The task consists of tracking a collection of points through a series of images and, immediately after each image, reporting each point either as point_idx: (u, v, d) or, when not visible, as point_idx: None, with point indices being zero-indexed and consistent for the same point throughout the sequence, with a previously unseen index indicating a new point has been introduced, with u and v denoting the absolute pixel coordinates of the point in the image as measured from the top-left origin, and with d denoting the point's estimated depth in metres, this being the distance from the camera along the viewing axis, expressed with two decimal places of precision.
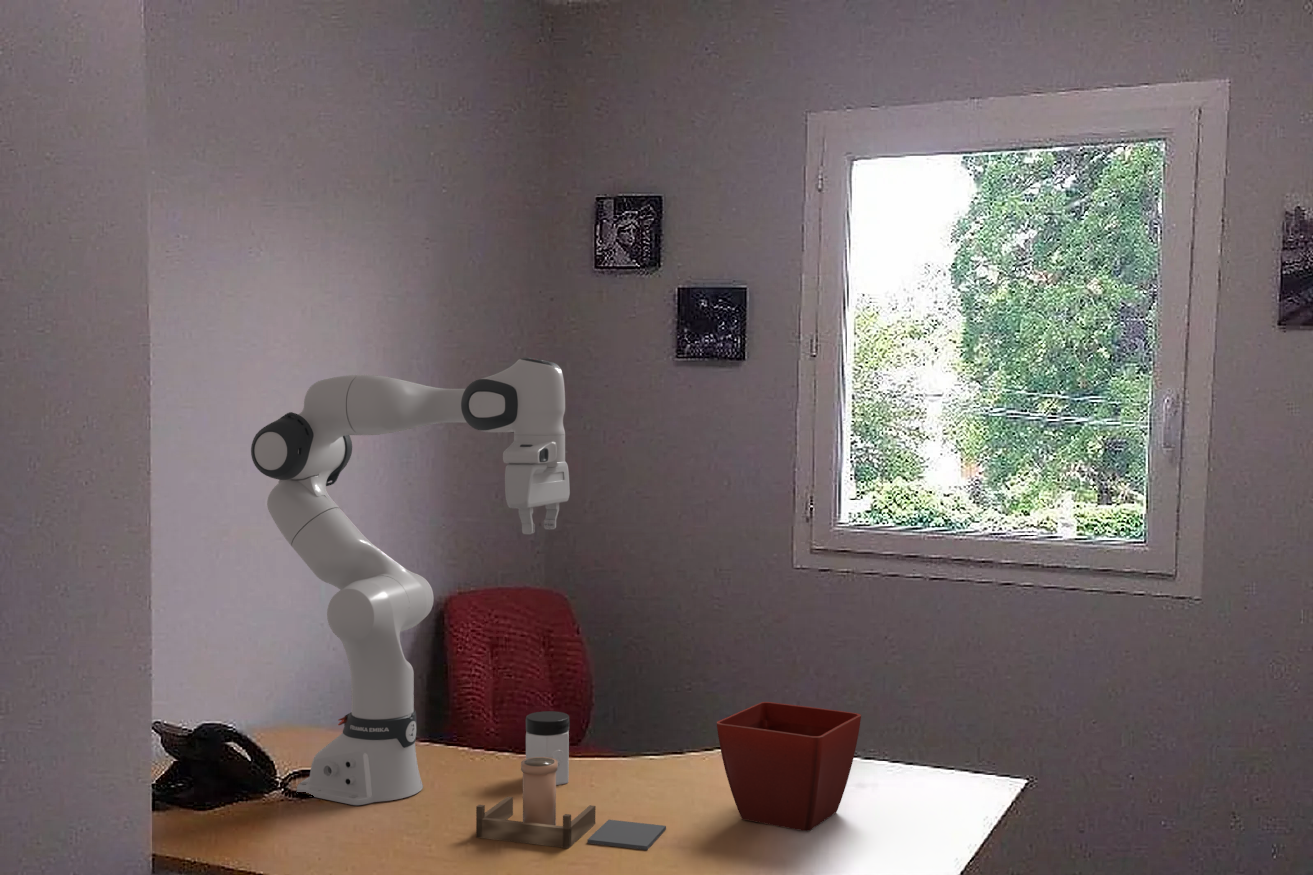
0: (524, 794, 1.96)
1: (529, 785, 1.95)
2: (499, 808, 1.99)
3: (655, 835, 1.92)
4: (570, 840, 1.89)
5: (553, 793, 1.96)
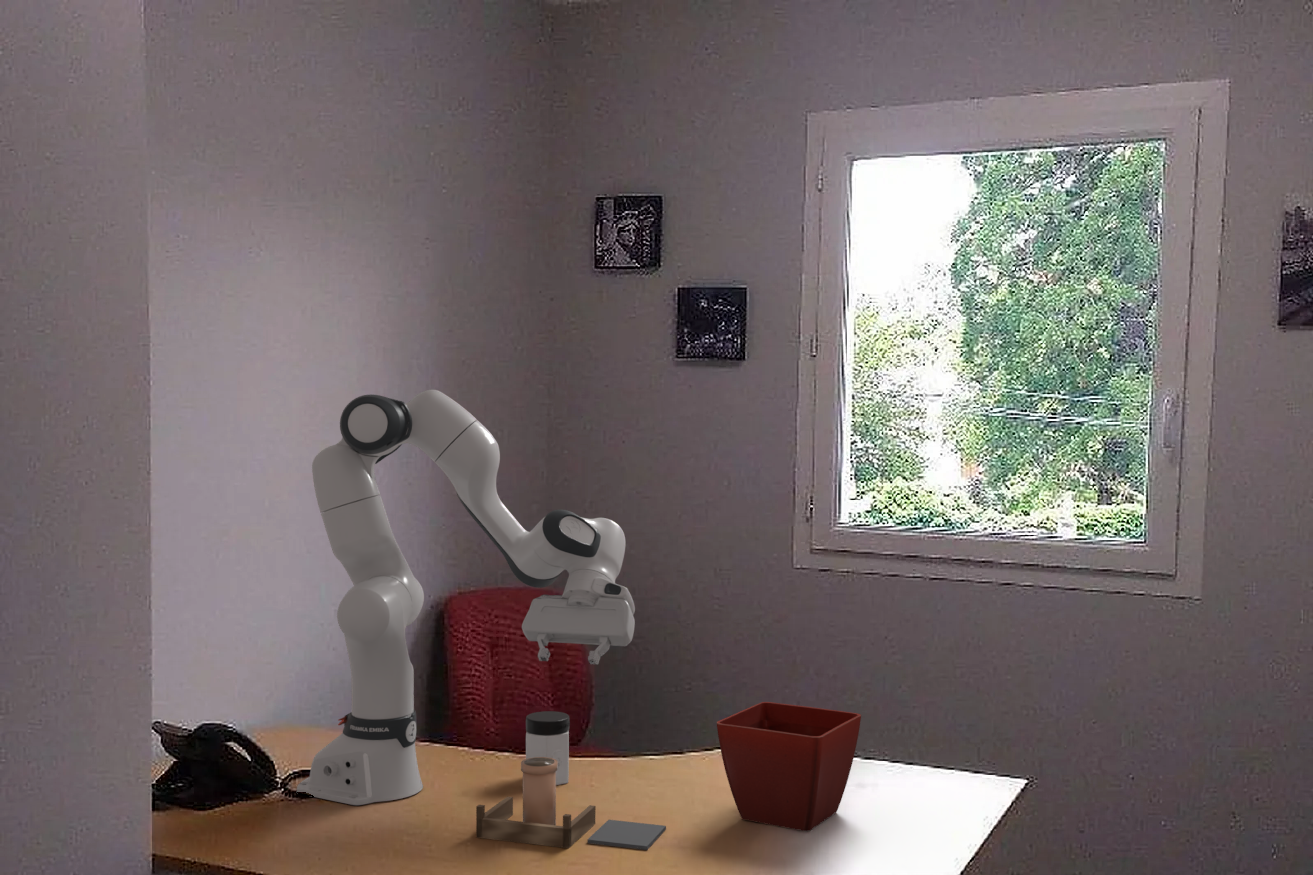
0: (524, 794, 1.96)
1: (529, 785, 1.95)
2: (499, 808, 1.99)
3: (655, 835, 1.92)
4: (570, 840, 1.89)
5: (553, 793, 1.96)
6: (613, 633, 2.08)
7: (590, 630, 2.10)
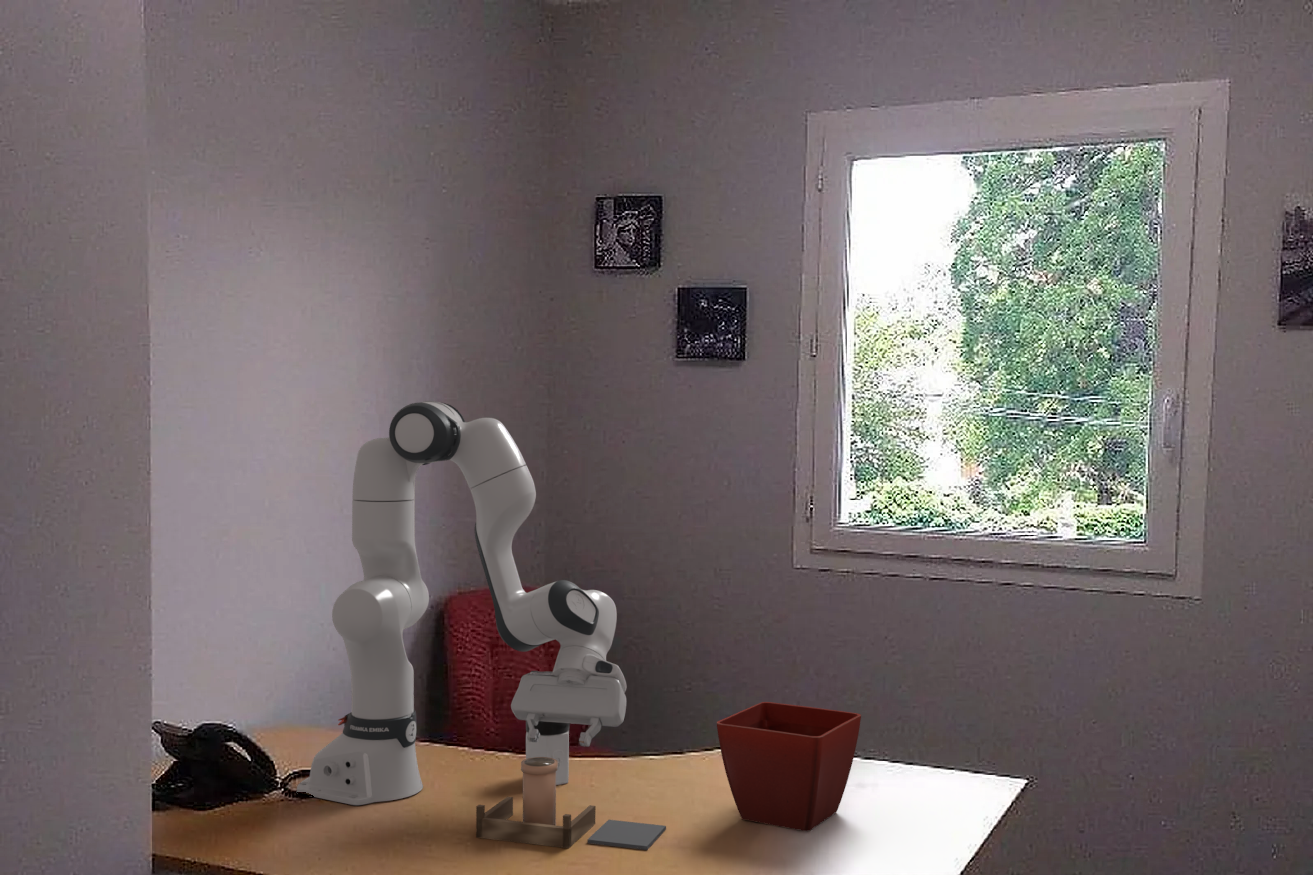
0: (524, 794, 1.96)
1: (529, 785, 1.95)
2: (499, 808, 1.99)
3: (655, 835, 1.92)
4: (570, 840, 1.89)
5: (553, 793, 1.96)
6: (604, 714, 2.04)
7: (581, 710, 2.05)
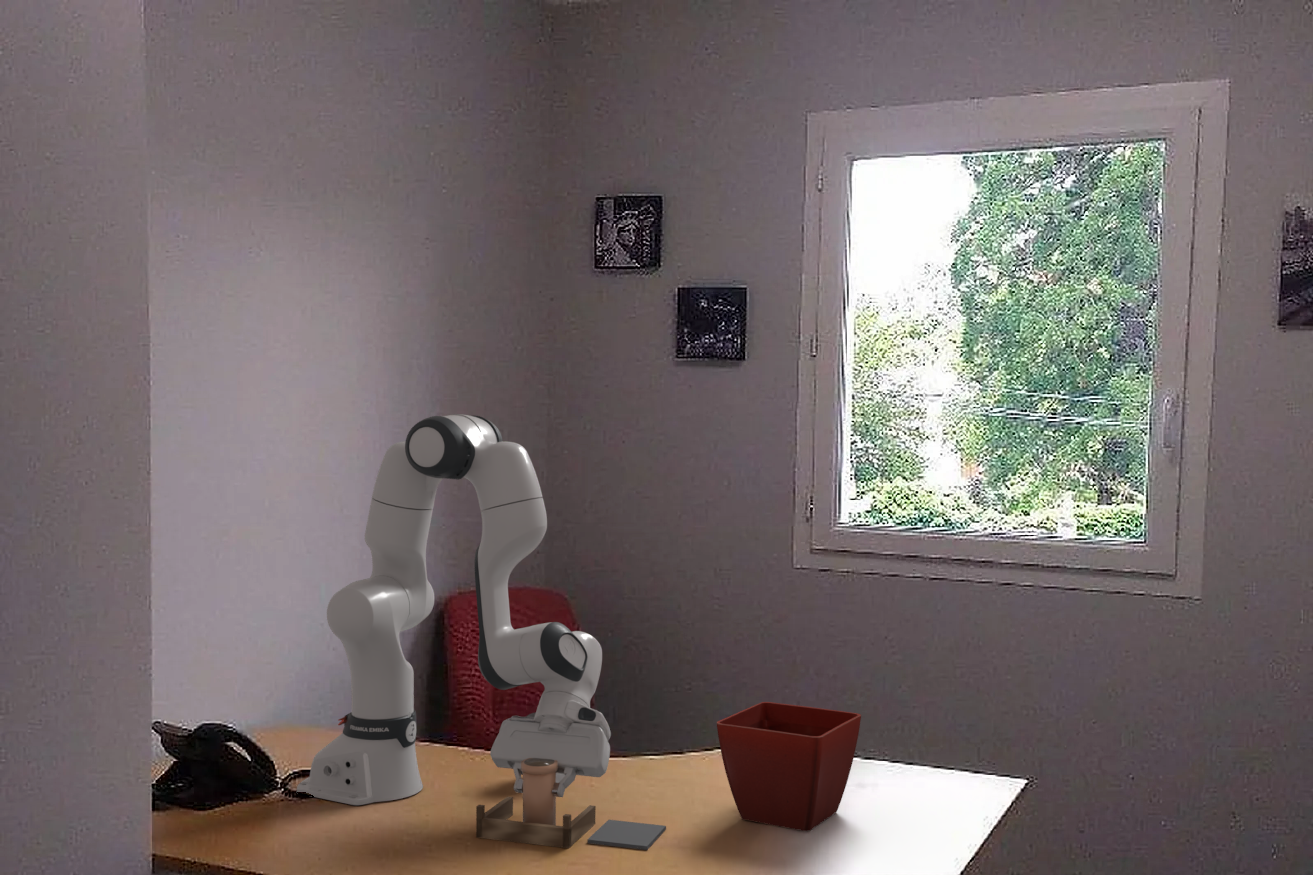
0: (524, 794, 1.96)
1: (529, 785, 1.95)
2: (499, 808, 1.99)
3: (655, 835, 1.92)
4: (570, 840, 1.89)
5: None
6: (586, 764, 1.96)
7: (562, 760, 1.98)
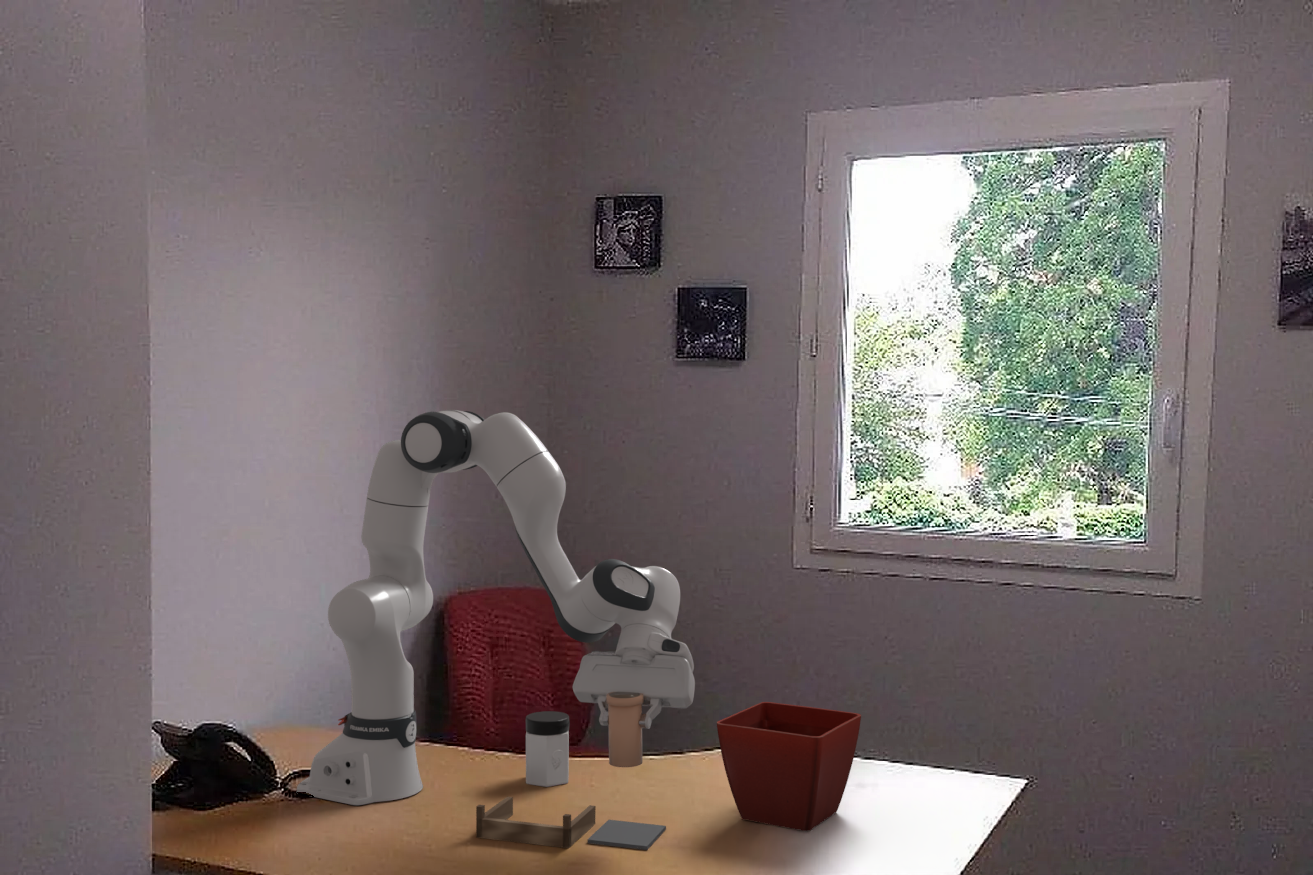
0: (610, 727, 1.92)
1: (616, 718, 1.91)
2: (499, 808, 1.99)
3: (655, 835, 1.92)
4: (570, 840, 1.89)
5: None
6: (673, 695, 1.93)
7: (648, 691, 1.94)
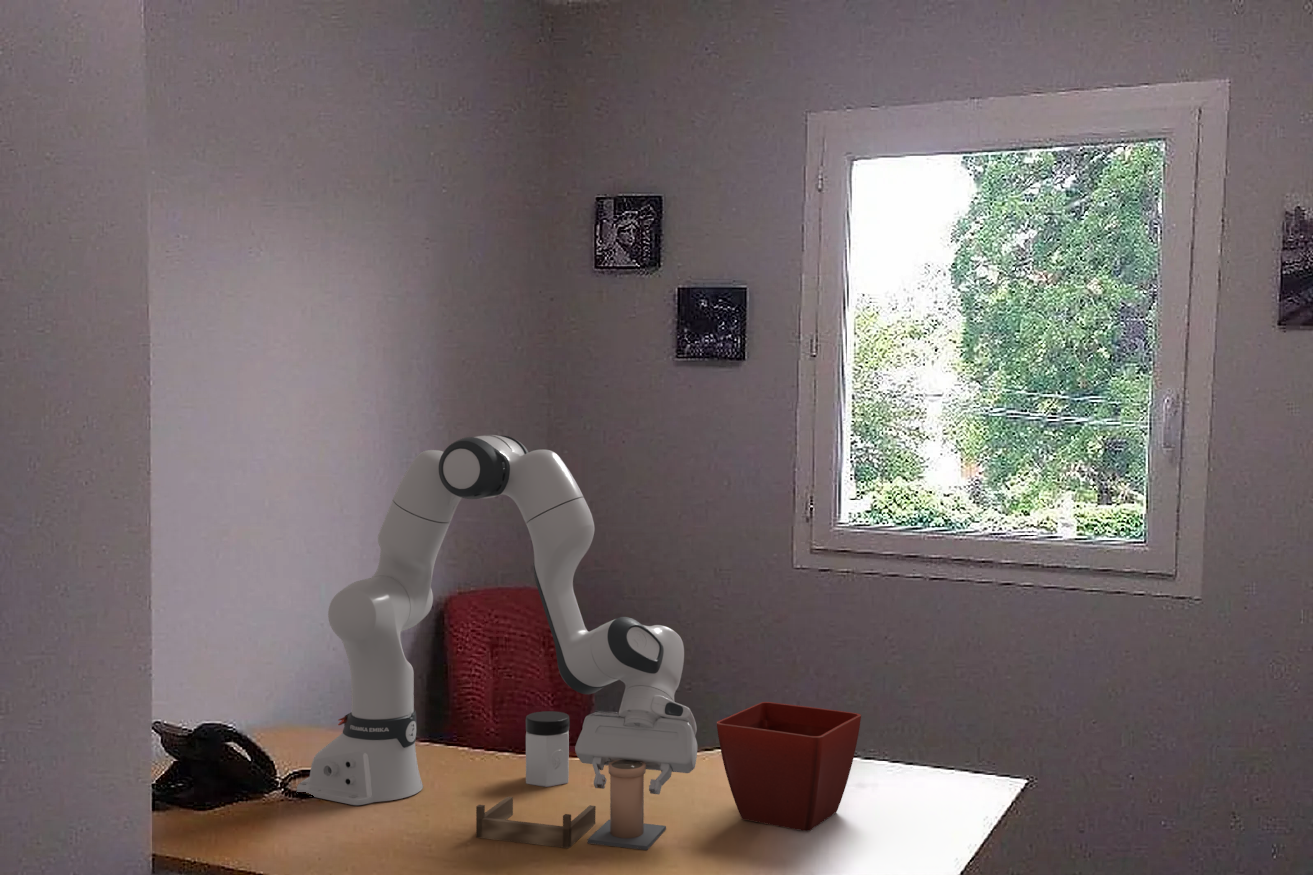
0: (612, 797, 1.92)
1: (618, 788, 1.91)
2: (499, 808, 1.99)
3: (655, 835, 1.92)
4: (570, 840, 1.89)
5: (641, 796, 1.92)
6: (675, 760, 1.93)
7: (650, 755, 1.94)
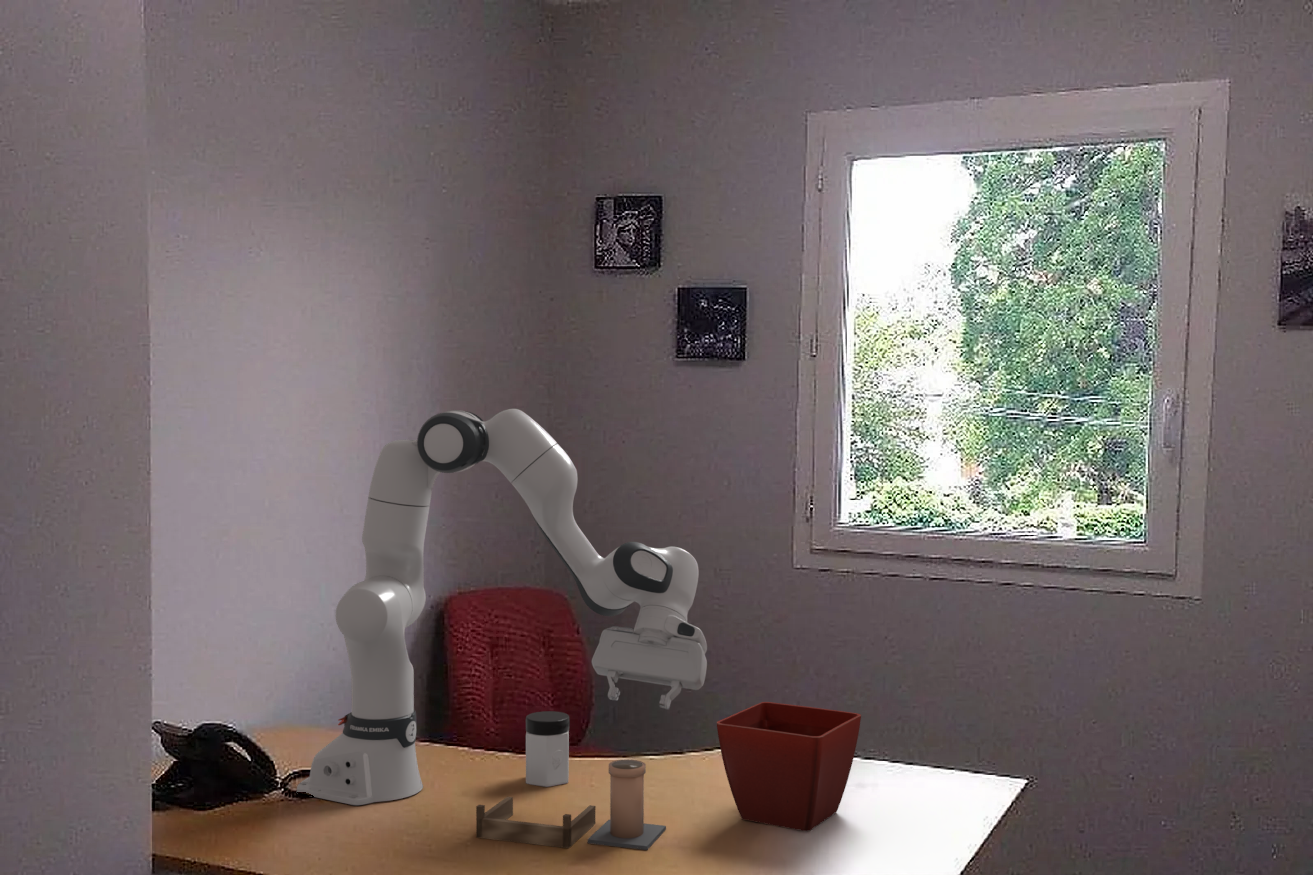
0: (612, 797, 1.92)
1: (618, 788, 1.91)
2: (499, 808, 1.99)
3: (655, 835, 1.92)
4: (570, 840, 1.89)
5: (642, 796, 1.92)
6: (685, 678, 2.04)
7: (662, 672, 2.06)
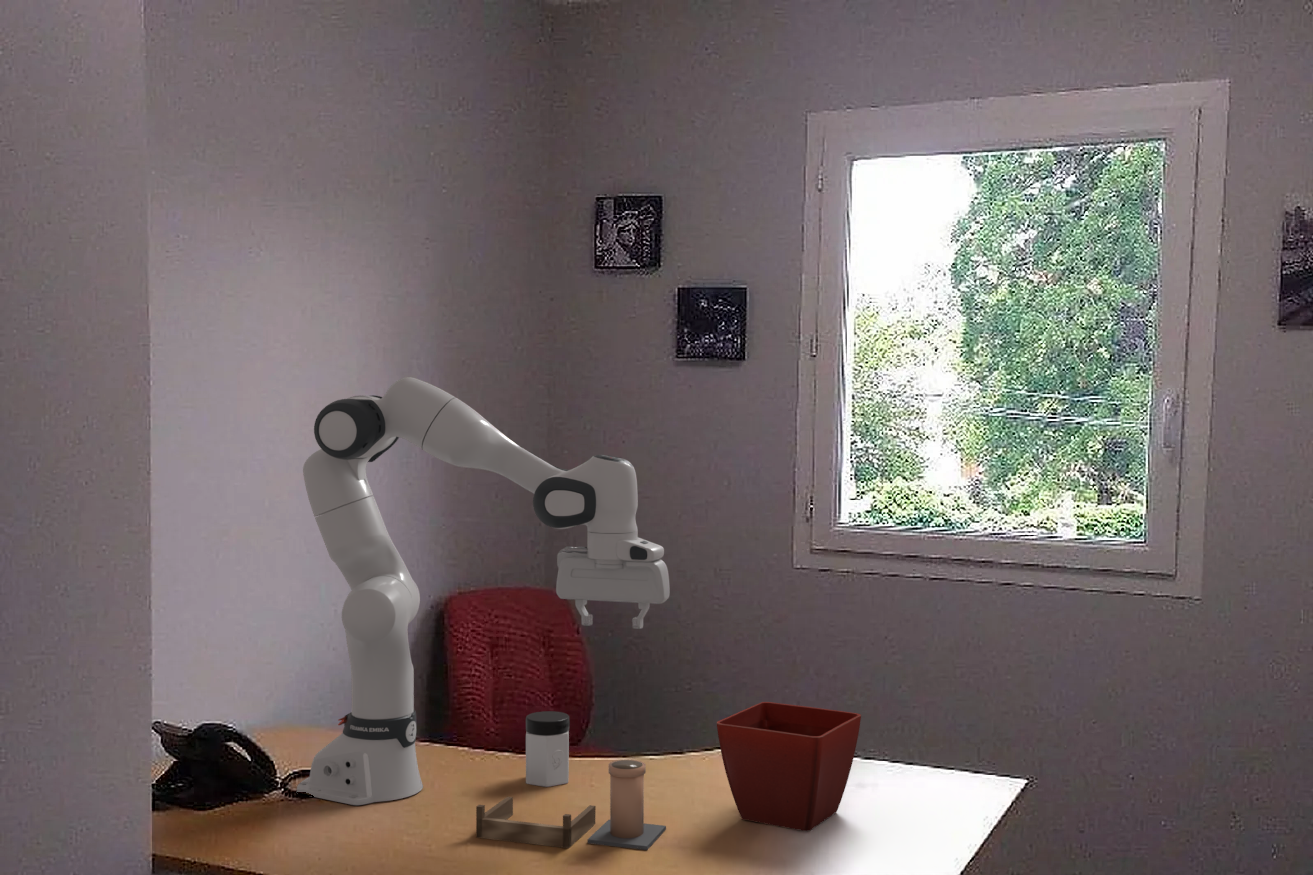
0: (612, 797, 1.92)
1: (618, 788, 1.91)
2: (499, 808, 1.99)
3: (655, 835, 1.92)
4: (570, 840, 1.89)
5: (641, 796, 1.92)
6: (650, 601, 2.06)
7: (627, 598, 2.07)
